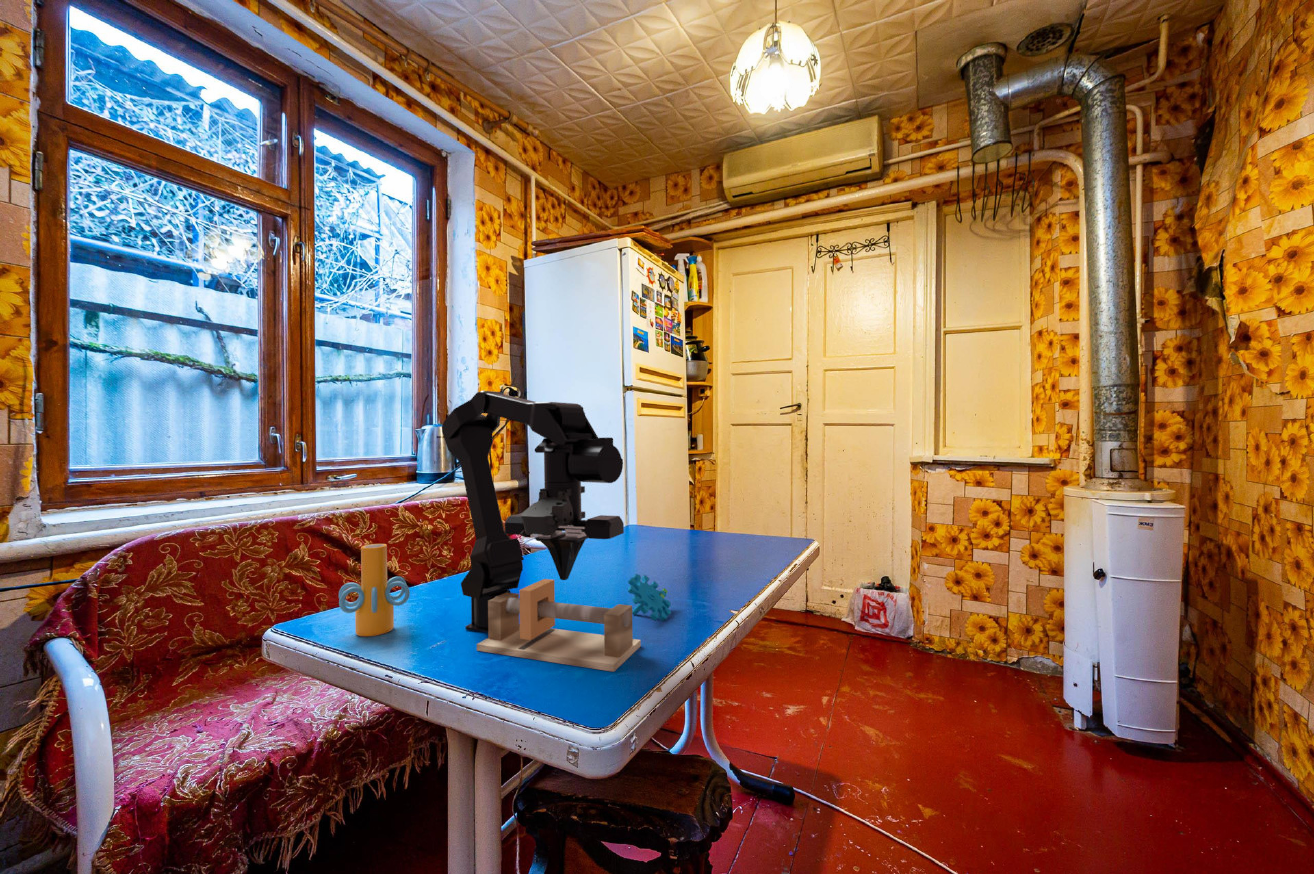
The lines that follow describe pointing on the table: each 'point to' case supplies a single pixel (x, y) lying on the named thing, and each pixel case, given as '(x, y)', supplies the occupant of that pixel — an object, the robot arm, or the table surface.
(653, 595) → the gear
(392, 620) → the cylinder
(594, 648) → the pipe rig
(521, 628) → the collar
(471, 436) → the robot arm
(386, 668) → the table surface
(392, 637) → the table surface
